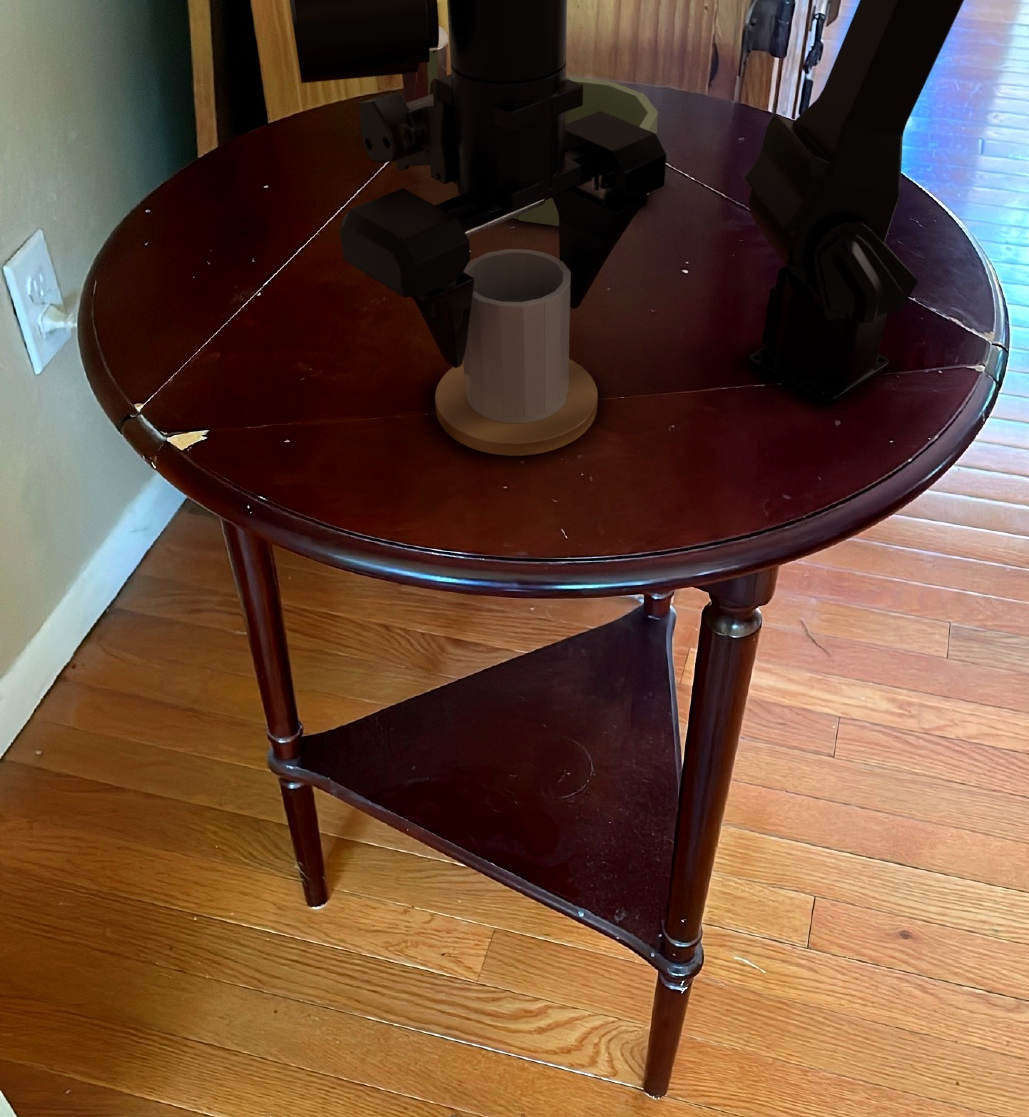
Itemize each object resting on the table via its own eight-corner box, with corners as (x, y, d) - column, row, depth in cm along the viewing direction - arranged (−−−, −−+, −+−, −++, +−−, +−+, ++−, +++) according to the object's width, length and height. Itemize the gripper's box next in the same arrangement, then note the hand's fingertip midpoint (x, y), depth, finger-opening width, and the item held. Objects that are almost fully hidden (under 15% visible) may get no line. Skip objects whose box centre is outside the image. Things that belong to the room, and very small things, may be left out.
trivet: (630, 408, 69) (631, 395, 69) (509, 479, 65) (508, 465, 64) (522, 342, 75) (522, 330, 74) (403, 403, 70) (402, 390, 69)
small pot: (589, 394, 69) (593, 277, 63) (512, 437, 66) (510, 318, 60) (521, 352, 72) (519, 237, 67) (445, 391, 69) (436, 275, 64)
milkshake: (420, 116, 102) (411, -1, 95) (464, 132, 99) (458, 12, 92) (384, 133, 99) (373, 13, 92) (428, 149, 97) (419, 27, 90)
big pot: (699, 192, 90) (707, 118, 86) (575, 250, 84) (576, 173, 79) (556, 129, 99) (557, 59, 95) (434, 177, 93) (429, 105, 89)
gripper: (538, -19, 64) (538, 233, 75) (258, 66, 55) (304, 338, 66) (683, 30, 58) (661, 297, 69) (394, 135, 49) (421, 422, 60)
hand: (513, 333), depth 66 cm, fingers open, 9 cm apart
